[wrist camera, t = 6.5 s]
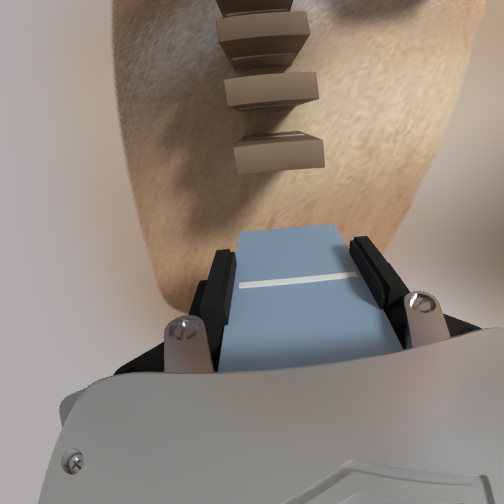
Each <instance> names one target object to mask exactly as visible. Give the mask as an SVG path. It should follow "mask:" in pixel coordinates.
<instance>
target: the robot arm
mask: <svg viewBox="0 0 504 504" xmlns="http://www.w3.org/2000/svg"><path fill="white" fill-rule="evenodd" d="M349 254H350V256H351V257H352V259H353V261H354V263H355V264H356V266H357V268H358V270H359V271H360V273H361V275H362V277H363V279H364V280H365V282H366V284H367V286H368V288H369V290H370V292H371V293H372V295H373V297H374V299H375V301H376V303H377V305H378V307H379V309H383V310H384V312H385V314H386V316H387V318H388V320H389V322H390V324H391V326H392V328H393V330H394V332H395V334H396V336H397V338H398V340H399V342H400V344H401V346H402V348H403V350H399V351H395V352H390V353H385V354H380V355H375V356H370V357H365V358H359V359H353V360H347V361H341V362H334V363H327V364H320V365H312V366H303V367H293V368H283V369H271V370H256V371H236V372H218V367H219V361H220V354H221V347H222V341H223V334H224V328H225V325H228V323H229V315H230V308H231V301H232V295H233V288H234V281H235V274H236V267H237V262H236V256H235V252H230V249H224V250H217V251H216V253H215V257H214V260H213V263H212V266H211V270H210V273H209V276H208V280H202V281H200V282H199V284H198V287H197V290H196V293H195V296H194V299H193V302H192V305H191V308H190V311H189V315H187V316H181V317H178V318H176V319H174V320H173V321H171V322H170V323H169V324H168V325H167V327H166V328H165V332H164V342H163V343H161V344H159V345H158V346H156V347H154V348H153V349H151V350H149V351H147V352H146V353H144V354H142V355H141V356H139V357H137V358H135V359H134V360H132V361H130V362H129V363H127V364H125V365H123V366H122V367H120V368H119V369H118V370H117V371H116V372H115V373H114V375H113V376H110V377H106V378H103V379H100V380H98V381H96V382H94V383H92V384H91V385H89V386H88V387H87V388H85V389H83V390H80V391H78V392H76V393H73V394H71V395H69V396H67V397H66V398H64V400H63V401H62V402H61V404H60V409H59V412H60V418H61V423H62V431H61V433H60V435H59V438H58V440H57V442H56V445H55V448H54V451H53V454H52V457H51V460H50V463H49V466H48V469H47V472H46V475H45V479H44V482H43V485H42V489H41V493H40V498H39V502H38V504H504V328H499V327H495V328H485V329H481V328H480V327H477V326H475V325H472V324H470V323H467V322H464V321H462V320H459V319H456V318H453V317H451V316H448V315H446V314H443V312H442V310H441V307H440V304H439V302H438V300H437V299H436V298H435V297H434V296H433V295H431V294H429V293H426V292H421V291H414V292H410V291H409V290H408V288H407V287H406V285H405V284H404V283H403V281H402V280H401V278H400V277H399V276H398V274H397V273H396V272H395V270H394V269H393V267H392V266H391V265H390V264H389V263H388V262H387V261H386V260H385V258H384V257H383V256H382V254H381V253H380V252H379V250H378V249H377V248H376V247H375V245H374V244H373V243H372V242H371V240H370V239H369V238H368V237H367V236H361V237H354V240H353V241H350V249H349Z"/></svg>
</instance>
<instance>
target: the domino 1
mask: <svg viewBox="0 0 504 504" xmlns="http://www.w3.org/2000/svg"><path fill="white" fill-rule="evenodd" d="M216 1H217V4H218V6H219V8H220V11H221V13H222V16H223V18H226V17H233V16H240V15H249V14H259V13H273V12H290V9H291V6H292V3H293V0H216Z"/></svg>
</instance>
